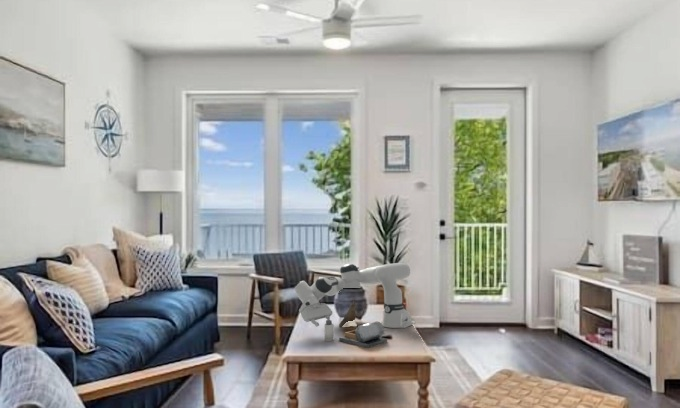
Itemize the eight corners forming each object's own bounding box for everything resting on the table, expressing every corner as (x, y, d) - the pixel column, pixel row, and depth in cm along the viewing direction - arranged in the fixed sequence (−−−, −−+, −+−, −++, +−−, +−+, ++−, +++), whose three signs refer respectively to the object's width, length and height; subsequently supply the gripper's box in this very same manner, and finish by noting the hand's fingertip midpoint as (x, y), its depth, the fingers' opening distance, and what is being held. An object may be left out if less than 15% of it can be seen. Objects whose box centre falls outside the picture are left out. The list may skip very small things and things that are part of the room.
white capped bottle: (329, 338, 334) (328, 319, 334) (335, 339, 331) (335, 320, 331) (322, 340, 331) (322, 320, 331) (329, 341, 327) (328, 322, 327)
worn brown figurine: (356, 328, 368) (361, 300, 368) (357, 330, 362) (363, 302, 363) (338, 325, 366) (343, 297, 366) (339, 327, 360) (345, 299, 361)
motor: (360, 335, 341) (360, 316, 341) (389, 341, 326) (389, 322, 325) (339, 341, 328) (338, 321, 328) (368, 348, 313) (368, 327, 313)
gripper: (322, 305, 349) (333, 324, 342) (296, 311, 334) (308, 330, 327) (327, 299, 345) (339, 318, 339) (301, 304, 331) (313, 324, 324)
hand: (323, 324), depth 333 cm, fingers open, 8 cm apart
